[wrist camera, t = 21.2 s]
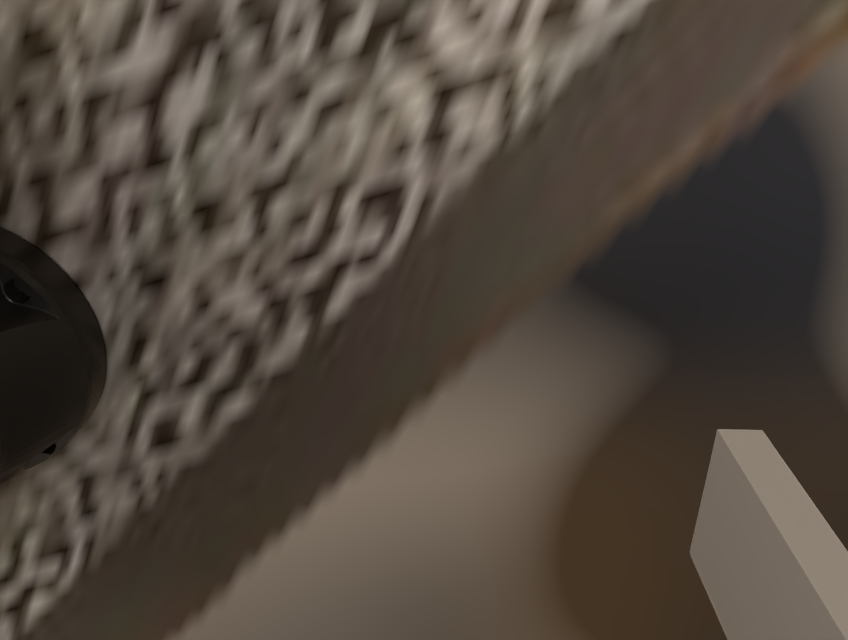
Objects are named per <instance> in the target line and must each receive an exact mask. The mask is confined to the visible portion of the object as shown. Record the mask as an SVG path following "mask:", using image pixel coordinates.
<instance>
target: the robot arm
mask: <svg viewBox="0 0 848 640" xmlns="http://www.w3.org/2000/svg"><path fill="white" fill-rule="evenodd" d="M105 375H106V356H105V349H104V343H103V339H102V335H101V332H100V329H99V326H98V324H97V321H96V319H95V316H94V314H93V312H92V310H91V308H90V307H89V305H88V303H87V301H86V300H85V298H84V297H83V295H82V294H81V292H80V291H79V289H78V288H77V287H76V286H75V284H74V283H73V282H72V281H71V279H70V278H69V277H68V276H67V275H66V274H65V273H64V272H63V271H62V270H61V269H60V268H59V267H58V266H57V265H56V264H55V263H54V262H53V261H52V260H51V259H50V258H49V257H47V256H46V255H45V254H43V253H42V252H41V251H40V250H38V249H37V248H35V247H34V246H33V245H31V244H30V243H28V242H26V241H25V240H23V239H22V238H20V237H18V236H16V235H14V234H13V233H11V232H9V231H7V230H5V229H2V228H0V484H2V483H4V482H5V481H7V480H9V479H11V478H13V477H15V476H16V475H18V474H19V473H21V472H22V471H23V470H25V469H28V468H31V467H33V466H35V465H37V464H39V463H41V462H43V461H44V460H46V459H48V458H50V457H51V456H53V455H54V454H55V453H57V452H58V451H59V450H60V449H62V448H63V447H64V446H65V445H66V444H67V443H68V442H69V441H70V440H71V439H72V438H73V437H74V435H75V434H76V433H77V432H78V430H79V429H80V428H81V427H82V425H83V424H84V423H85V422H86V420H87V419H88V418H89V417H90V415H91V414H92V412H93V411H94V409H95V407H96V405H97V403H98V401H99V399H100V396H101V394H102V390H103V387H104V382H105ZM690 555H691V557H692V560H693V562H694V564H695V567H696V569H697V571H698V573H699V575H700V578H701V580H702V582H703V585H704V587H705V589H706V592H707V594H708V596H709V598H710V600H711V603H712V605H713V607H714V610H715V612H716V614H717V617H718V619H719V621H720V623H721V626H722V628H723V630H724V632H725V635H726V637H727V639H728V640H848V552H847V550H846V549H845V547H844V546H843V544H842V543H841V542H840V540H839V539H838V537H837V536H836V534H835V533H834V532H833V530H832V529H831V527H830V526H829V524H828V523H827V522H826V520H825V519H824V517H823V516H822V515H821V513H820V512H819V510H818V509H817V507H816V506H815V505H814V503H813V502H812V500H811V499H810V497H809V496H808V495H807V493H806V492H805V491H804V489H803V488H802V486H801V485H800V483H799V482H798V480H797V479H796V477H795V476H794V475H793V473H792V472H791V470H790V469H789V468H788V466H787V465H786V463H785V462H784V461H783V459H782V458H781V456H780V455H779V453H778V452H777V450H776V449H775V448H774V446H773V445H772V443H771V442H770V441H769V439H768V438H767V436H766V435H765V433H764V432H763V431H762V430H726V429H718V430H717V433H716V438H715V442H714V447H713V451H712V456H711V461H710V465H709V469H708V474H707V478H706V482H705V487H704V491H703V496H702V500H701V505H700V509H699V514H698V518H697V522H696V527H695V531H694V536H693V540H692V544H691V549H690Z"/></svg>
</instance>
